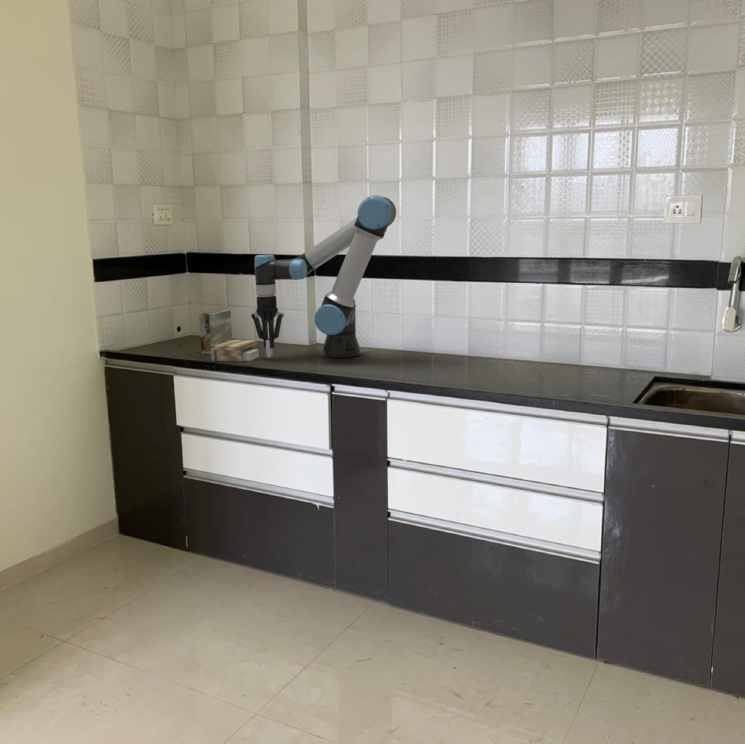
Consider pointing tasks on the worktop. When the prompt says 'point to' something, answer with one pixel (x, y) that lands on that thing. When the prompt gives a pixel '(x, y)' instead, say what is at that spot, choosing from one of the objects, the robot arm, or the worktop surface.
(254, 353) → the flat white block
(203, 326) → the coffee box
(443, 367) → the worktop surface
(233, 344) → the upright marbled panel
